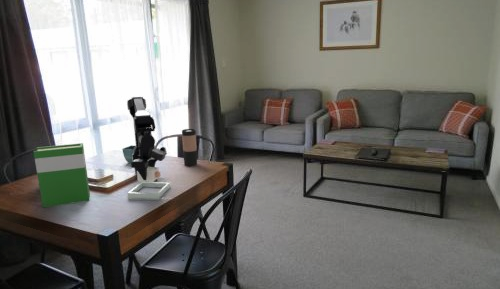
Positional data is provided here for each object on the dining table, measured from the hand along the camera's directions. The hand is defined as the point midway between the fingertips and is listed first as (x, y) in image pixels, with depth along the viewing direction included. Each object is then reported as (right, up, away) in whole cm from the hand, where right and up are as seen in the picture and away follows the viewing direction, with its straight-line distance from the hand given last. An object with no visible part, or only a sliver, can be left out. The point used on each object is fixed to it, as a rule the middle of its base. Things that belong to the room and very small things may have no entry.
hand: (148, 177), depth 159 cm
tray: (0, -8, +2) cm, 8 cm away
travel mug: (+11, +3, +44) cm, 46 cm away
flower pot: (-23, +4, +51) cm, 56 cm away
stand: (-1, -4, +16) cm, 16 cm away
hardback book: (-34, -10, -4) cm, 36 cm away
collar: (0, -1, 0) cm, 1 cm away
